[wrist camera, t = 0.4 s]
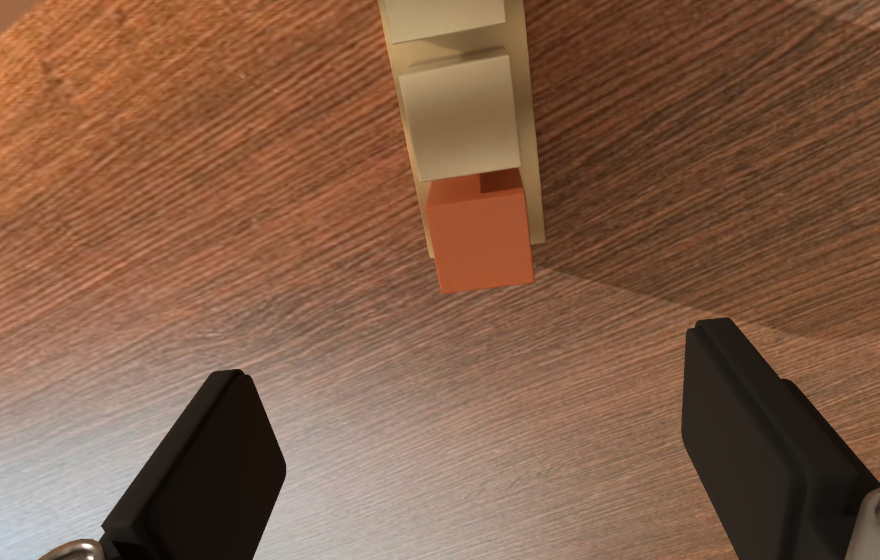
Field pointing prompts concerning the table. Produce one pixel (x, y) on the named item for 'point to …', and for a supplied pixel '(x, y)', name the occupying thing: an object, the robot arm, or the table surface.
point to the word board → (520, 92)
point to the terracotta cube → (480, 231)
